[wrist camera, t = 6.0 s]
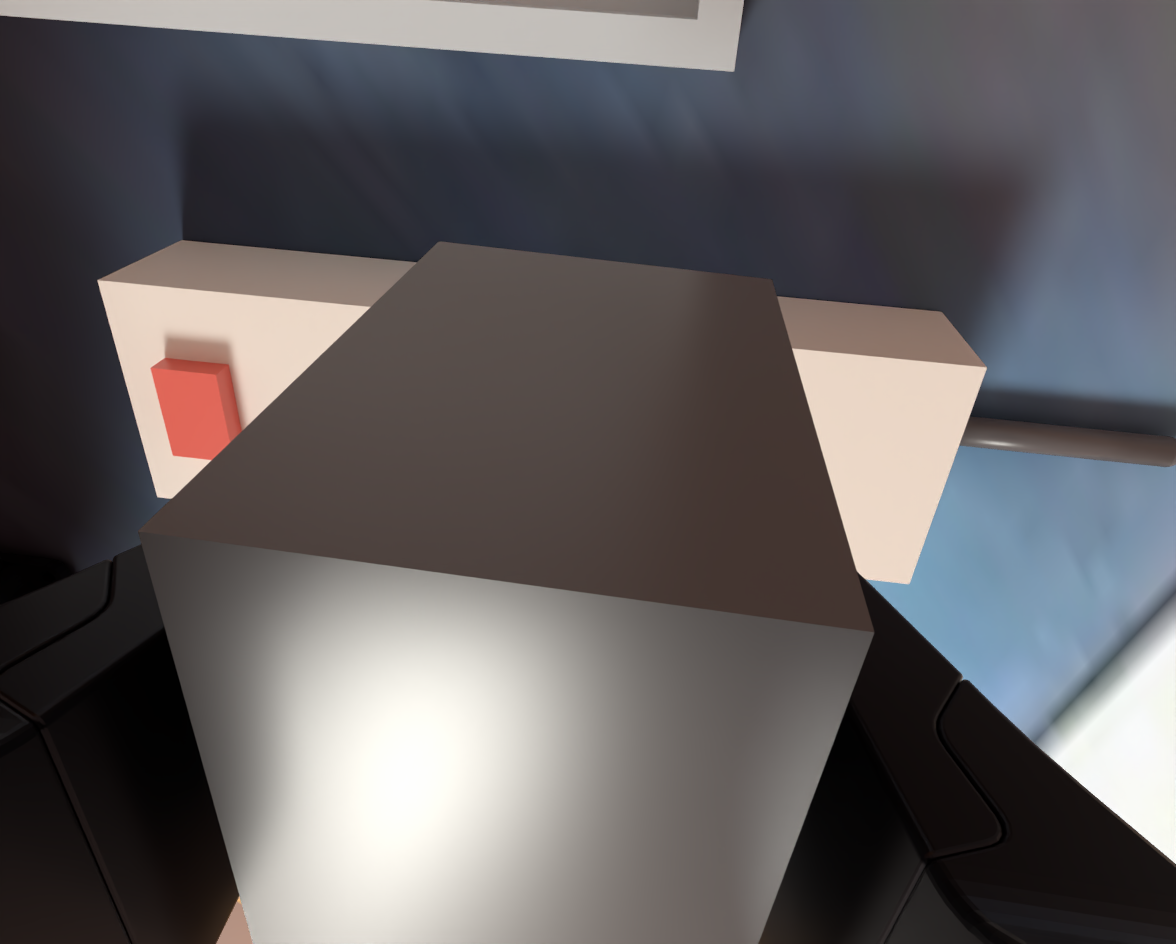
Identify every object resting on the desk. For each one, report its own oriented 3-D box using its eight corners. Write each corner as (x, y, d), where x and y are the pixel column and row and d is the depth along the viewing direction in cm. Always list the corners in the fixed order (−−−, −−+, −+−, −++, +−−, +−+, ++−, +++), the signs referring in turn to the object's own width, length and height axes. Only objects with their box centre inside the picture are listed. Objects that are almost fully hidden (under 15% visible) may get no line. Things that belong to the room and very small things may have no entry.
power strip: (1227, 338, 19) (1346, 413, 16) (1123, 534, 22) (1204, 633, 19) (181, 239, 21) (79, 288, 17) (223, 435, 24) (144, 509, 20)
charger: (760, 239, 11) (874, 633, 4) (702, 532, 13) (714, 1059, 7) (474, 207, 11) (137, 532, 4) (473, 502, 14) (263, 985, 7)
